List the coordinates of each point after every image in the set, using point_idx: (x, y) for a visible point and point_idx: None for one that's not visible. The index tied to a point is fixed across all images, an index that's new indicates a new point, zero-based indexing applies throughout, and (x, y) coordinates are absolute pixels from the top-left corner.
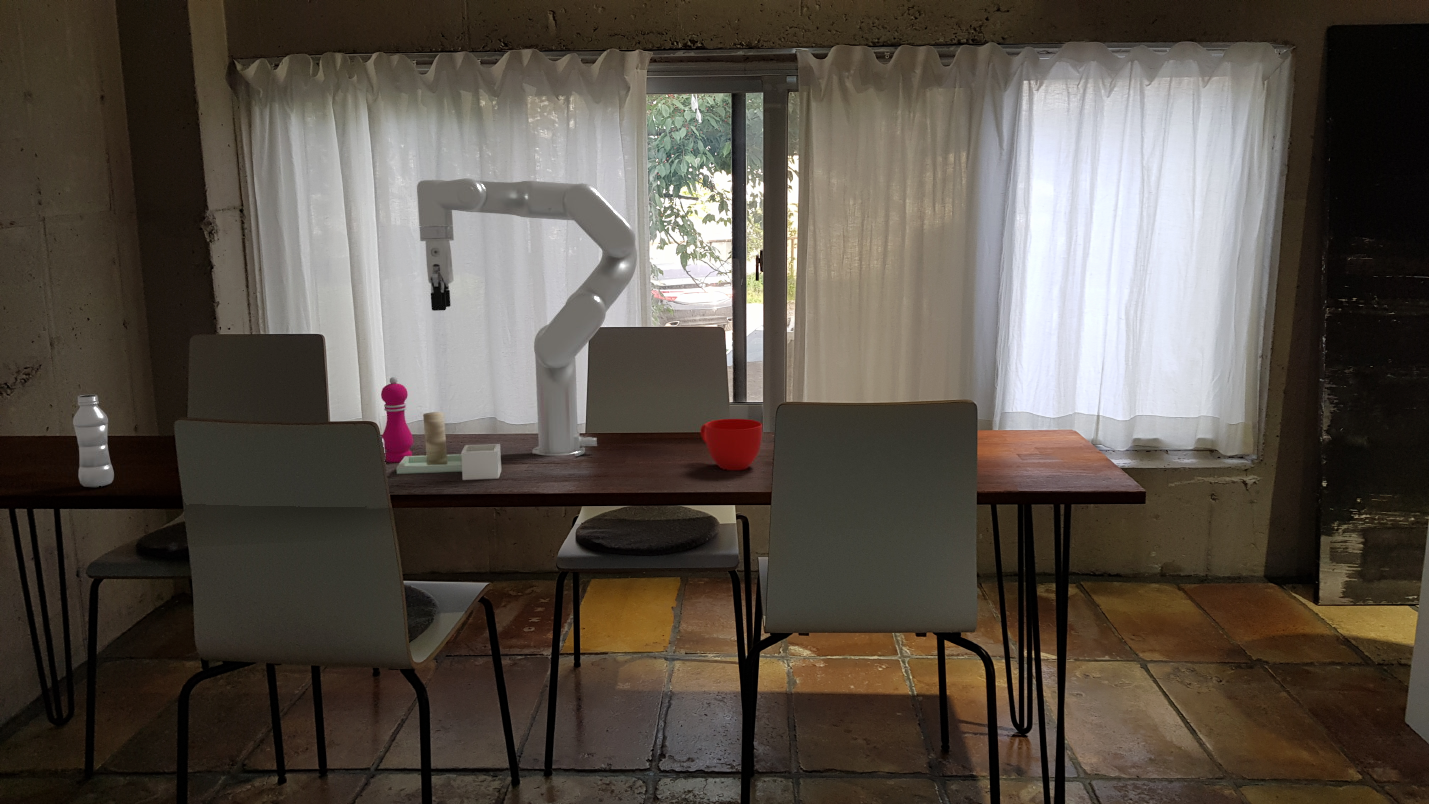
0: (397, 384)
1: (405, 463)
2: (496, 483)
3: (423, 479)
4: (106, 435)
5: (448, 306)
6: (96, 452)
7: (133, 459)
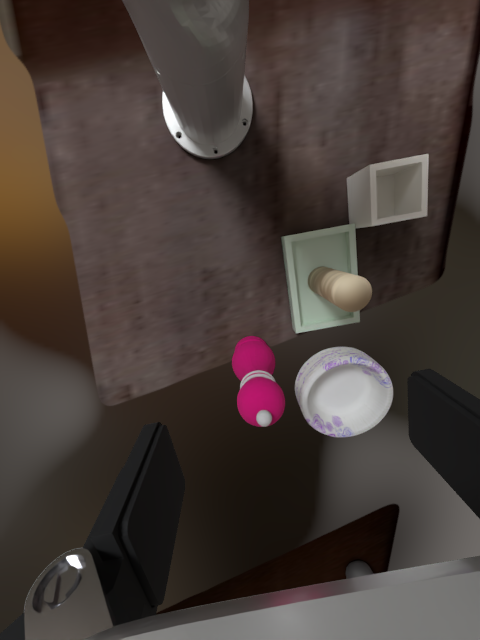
0: (267, 405)
1: (327, 321)
2: None
3: None
4: None
5: (163, 428)
6: None
7: (250, 591)
